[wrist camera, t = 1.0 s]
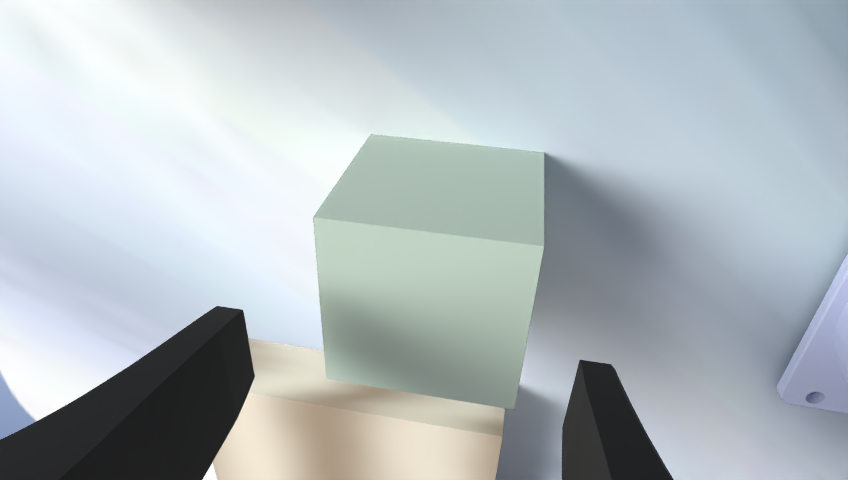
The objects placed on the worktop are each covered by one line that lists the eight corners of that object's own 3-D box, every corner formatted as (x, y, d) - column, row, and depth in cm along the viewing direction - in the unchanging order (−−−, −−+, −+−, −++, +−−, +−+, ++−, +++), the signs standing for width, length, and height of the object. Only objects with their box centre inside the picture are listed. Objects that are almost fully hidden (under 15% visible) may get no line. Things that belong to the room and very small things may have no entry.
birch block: (507, 371, 21) (502, 436, 18) (480, 535, 27) (474, 601, 24) (231, 327, 22) (191, 382, 20) (263, 491, 28) (236, 550, 26)
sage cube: (544, 151, 16) (544, 246, 12) (521, 291, 19) (514, 410, 14) (371, 133, 16) (312, 217, 12) (373, 271, 19) (326, 379, 15)
